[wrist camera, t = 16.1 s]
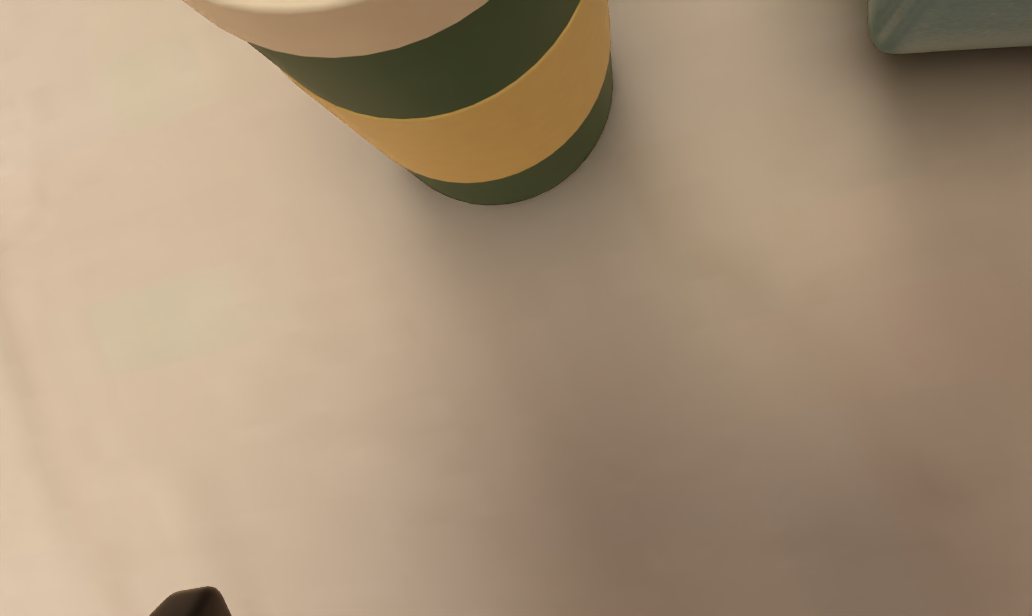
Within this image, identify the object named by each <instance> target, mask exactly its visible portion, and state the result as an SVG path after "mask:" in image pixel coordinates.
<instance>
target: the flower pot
mask: <svg viewBox="0 0 1032 616" xmlns="http://www.w3.org/2000/svg"><path fill="white" fill-rule="evenodd" d="M868 22H869V32H870V37H871V40H872V42H873V44H874V45H875V46H876V47H877V48H878V49H879V50H881V51H883V52H886V53H892V54H903V53H922V52H935V51H950V50H967V49H984V48H1002V47H1020V46H1032V0H868Z"/></svg>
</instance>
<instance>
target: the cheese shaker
mask: <svg viewBox="0 0 1032 616" xmlns="http://www.w3.org/2000/svg"><path fill="white" fill-rule="evenodd" d="M183 1H184V2H185V3H187V4H188V5H189V6H191V7H192V8H193V9H194V10H196V11H197V12H199V13H200V14H201V15H203V16H204V17H205V18H207V19H208V20H210V21H211V22H212V23H214V24H215V25H217V26H218V27H219V28H221V29H223V30H225V31H227V32H229V33H231V34H233V35H235V36H237V37H239V38H241V39H243V40H245V41H247V42H248V43H249V44H250V45H252V46H253V47H254V48H255V49H257V50H258V51H259V52H260V53H262V54H263V55H264V56H265V57H267V58H268V59H269V60H270V61H272V62H273V63H274V64H275V65H277V66H278V67H279V68H280V69H281V70H282V71H283V72H284V73H285V74H286V75H287V76H288V77H289V78H290V79H291V80H292V81H293V82H294V83H295V84H296V85H297V86H299V87H300V88H301V89H302V90H304V91H305V92H306V93H307V94H309V95H310V96H311V97H313V98H314V99H315V100H316V101H318V102H319V103H320V104H321V105H323V106H324V107H325V108H327V109H328V110H329V111H330V112H332V113H333V114H334V115H335V116H337V117H338V118H339V119H341V120H342V121H343V122H344V123H346V124H347V125H348V126H349V127H351V128H352V129H353V130H355V131H356V132H357V133H358V134H360V135H361V136H362V137H363V138H365V139H366V140H367V141H369V142H370V143H371V144H372V145H374V146H375V147H376V148H378V149H379V150H380V151H381V152H383V153H384V154H385V155H387V156H388V157H389V158H391V159H392V160H394V161H395V162H396V163H398V164H399V165H401V166H403V167H405V168H406V169H407V170H409V171H410V172H411V173H412V174H414V175H415V176H416V177H417V178H419V179H420V180H421V181H423V182H424V183H425V184H427V185H428V186H430V187H431V188H432V189H434V190H436V191H438V192H440V193H442V194H444V195H446V196H449V197H451V198H454V199H457V200H460V201H464V202H469V203H473V204H485V205H496V204H508V203H513V202H518V201H522V200H525V199H528V198H531V197H534V196H537V195H539V194H541V193H543V192H545V191H547V190H549V189H551V188H552V187H554V186H555V185H557V184H559V183H560V182H562V181H563V180H564V179H565V178H567V177H568V176H569V175H570V174H571V173H573V172H574V171H575V170H576V169H577V168H578V166H579V165H580V164H581V163H582V162H583V161H584V160H585V159H586V157H587V156H588V155H589V153H590V152H591V150H592V149H593V148H594V146H595V144H596V142H597V141H598V139H599V137H600V135H601V133H602V131H603V128H604V125H605V123H606V120H607V117H608V113H609V109H610V105H611V98H612V89H613V83H612V65H611V54H610V44H611V42H610V20H609V8H608V0H183Z"/></svg>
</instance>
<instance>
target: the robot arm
mask: <svg viewBox="0 0 1032 616" xmlns="http://www.w3.org/2000/svg"><path fill="white" fill-rule="evenodd" d="M149 616H231V614H230V611H229V609H228V607H227V605H226V603H225V600H224V598H223V596H222V595H221V593H220V592H219V591H218V590H217V589H216V588H214V587H209V586H207V587H201V588H195V589H189V590H183V591H178V592H175V593H173V594H172V595H170V596H169V597H168V598H167V599H165V600H164V601H163V602H162V603H161V604H160V605H159V606H158V607H157V608H156V609H155V610H154V611H153V612H152V613H151V614H150V615H149Z"/></svg>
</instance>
